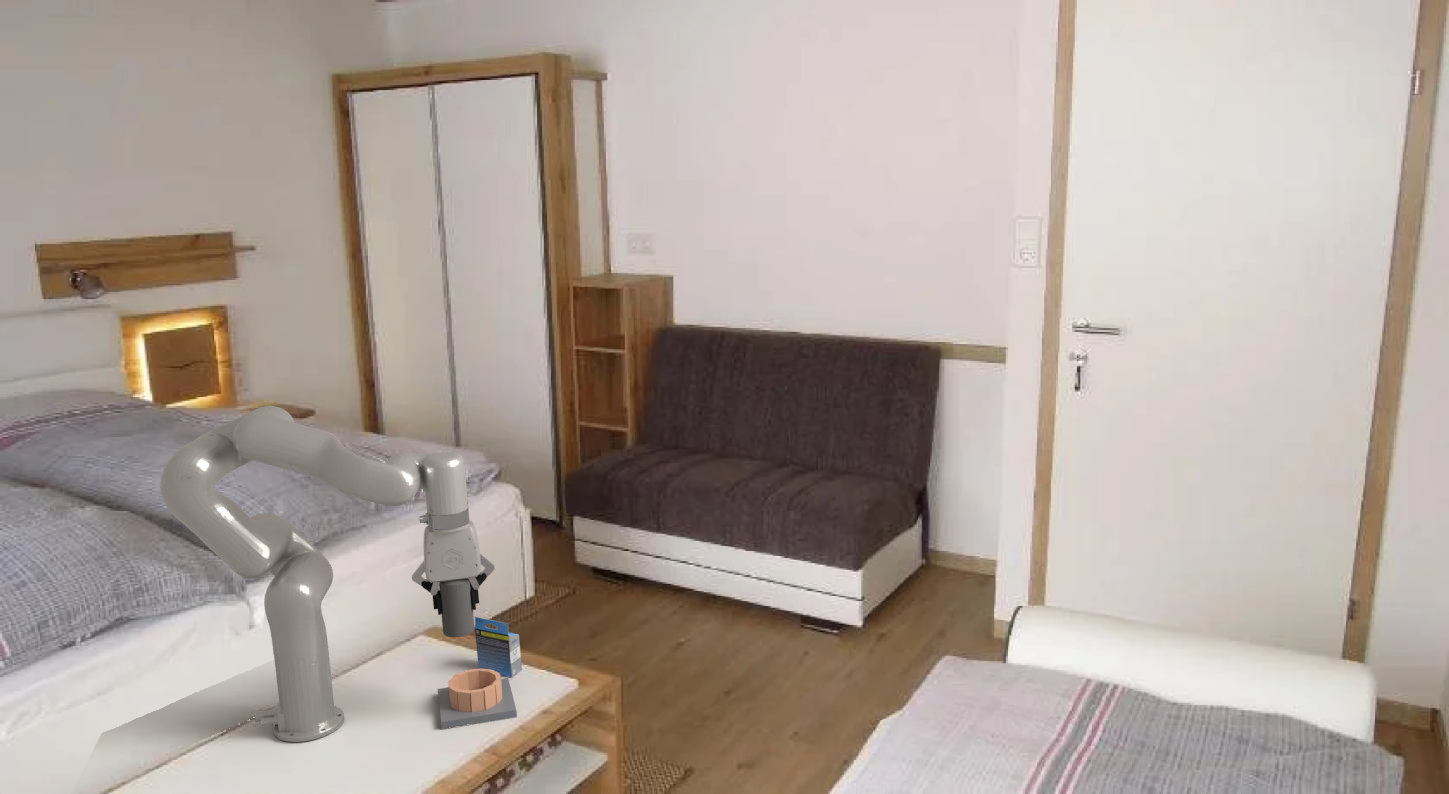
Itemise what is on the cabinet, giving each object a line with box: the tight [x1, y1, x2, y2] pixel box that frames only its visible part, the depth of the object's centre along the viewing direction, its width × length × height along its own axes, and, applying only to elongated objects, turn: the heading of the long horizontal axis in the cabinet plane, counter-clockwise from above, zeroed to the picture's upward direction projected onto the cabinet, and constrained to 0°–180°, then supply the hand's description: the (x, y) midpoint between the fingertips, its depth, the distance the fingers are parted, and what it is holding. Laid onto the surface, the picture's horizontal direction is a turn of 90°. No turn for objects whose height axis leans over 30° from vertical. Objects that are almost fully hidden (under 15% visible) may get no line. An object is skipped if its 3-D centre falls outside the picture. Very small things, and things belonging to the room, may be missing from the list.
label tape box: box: [474, 616, 523, 678], centre depth 220 cm, size 9×4×12 cm, turn 65°
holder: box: [437, 668, 518, 730], centre depth 206 cm, size 14×14×6 cm
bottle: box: [439, 578, 475, 638], centre depth 199 cm, size 6×6×15 cm
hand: (456, 608), depth 199 cm, fingers closed on bottle, 5 cm apart
